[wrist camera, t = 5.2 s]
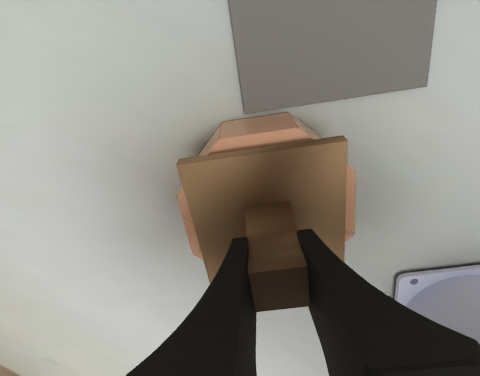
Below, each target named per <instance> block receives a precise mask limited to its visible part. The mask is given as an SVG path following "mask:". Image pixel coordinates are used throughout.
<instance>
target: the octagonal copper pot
mask: <svg viewBox="0 0 480 376" xmlns="http://www.w3.org/2000/svg"><path fill="white" fill-rule="evenodd" d="M315 139H322V138H321V137H320V136H318V135H317V134H316V133H314V132H313V131H312V130H311V129H309V128H308V127H307V126H306V125H304V124H303V123H302V122H300V121H299V120H298V119H297V118H295V117H294V116H293V115H292V114H290V113H288V112H285V113H279V114H272V115H265V116H259V117H252V118H245V119H239V120H232V121H225V122H223V123H221V124H220V126H219V127H218V128H217V130H216V131H215V132H214V134H213V135H212V137H211V138H210V139H209V141H208V142H207V144H206V145H205V146H204V148H203V149H202V151H201V152H200V153H199V155H198V156H205V155H212V154H219V153H225V152H232V151H239V150H246V149H253V148H260V147H267V146H274V145H281V144H287V143H294V142H301V141H308V140H315ZM198 156H197V157H198ZM355 182H356V172H355V171H354V170H353V168H352V167H351V166H350V165H349V164H348V163H347V179H346V214H345V242H346V241H347V240H349V239H350V238H351V237H352V236H353V235H354V232H355ZM177 198H178V202H179V206H180V209H181V213H182V217H183V220H184V224H185V228H186V231H187V235H188V239H189V242H190V246H191V249H192V253H194V255H196V256H197V257H199V258H201V259H203V256H202V253H201V249H200V246H199V242H198V239H197V235H196V232H195V228H194V225H193V221H192V218H191V214H190V211H189V207H188V204H187V200H186V197H185V193H184V190H183V186H182V185H181V187H180V190H179V193H178V195H177Z"/></svg>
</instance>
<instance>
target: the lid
mask: <svg viewBox="0 0 480 376" xmlns="http://www.w3.org/2000/svg"><path fill="white" fill-rule="evenodd" d="M347 145H348V141H347V139H346V138H345V137H344V136H336V137H329V138H322V139H315V140H308V141H301V142H294V143H287V144H281V145H274V146H267V147H260V148H253V149H246V150H239V151H232V152H225V153H219V154H212V155H205V156H198V157H191V158H184V159H179V160H178V163H177V168H178V172H179V175H180V179H181V182H182V186H183V190H184V193H185V197H186V200H187V204H188V207H189V211H190V214H191V218H192V221H193V225H194V228H195V232H196V235H197V239H198V242H199V246H200V249H201V253H202V256H203V260H204V263H205V267H206V270H207V274H208V277H209V281H210V283H211V282H212V280H213V278H214V277H215V275H216V273H217V271H218V269H219V267H220V265H221V264H222V262H223V260H224V257H225V255H226V253H227V251H228V248H229V245H230V243H231V240H232V239H233V238H239V237H246V238H248V246H249V258H248V276H249V281H250V286H251V292H252V297H253V302H254V307H255V312H260V311H269V310H278V309H287V308H297V307H306V306H310V301H309V282H308V266H307V262H306V259H305V257H304V254H303V252H302V249H301V247H300V244H299V240H298V236H297V233H296V232H298V230H303V229H312V230H314V232H315V233H316V234H317V235H318V236H319V237H320V239H321V240H322V241H323V242H324V243H325V244H326V245H327V246H328V247H329V248H330V249H331V250H332V251H333V252H334V253H335V254H336V255H337V256H338V257H339V258H340V259H341V260H342V261H343V262H344V248H345V214H346V179H347Z"/></svg>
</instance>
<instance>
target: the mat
mask: <svg viewBox="0 0 480 376" xmlns="http://www.w3.org/2000/svg"><path fill="white" fill-rule="evenodd" d="M436 5H437V0H229V7H230V14H231V21H232V28H233V35H234V42H235V49H236V56H237V63H238V70H239V77H240V84H241V91H242V99H243V106H244V113H245V114H249V113H255V112H262V111H268V110H275V109H282V108H288V107H295V106H302V105H308V104H315V103H321V102H328V101H335V100H341V99H348V98H355V97H361V96H368V95H374V94H381V93H388V92H394V91H401V90H408V89H414V88H421V87H427V82H428V73H429V65H430V56H431V48H432V39H433V31H434V22H435V14H436Z"/></svg>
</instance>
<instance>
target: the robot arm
mask: <svg viewBox="0 0 480 376" xmlns="http://www.w3.org/2000/svg"><path fill="white" fill-rule="evenodd" d="M296 233H297V236H298V240H299V244H300V247H301V249H302V252H303V254H304V257H305V259H306V262H307V266H308V282H309V301H310V306H308V307H309V310H310V313H311V316H312V319H313V322H314V324H315V327H316V330H317V333H318V336H319V339H320V342H321V345H322V349H323V352H324V356H325V360H326V364H327V368H328V372H329V376H480V265H473V266H464V267H455V268H446V269H437V270H428V271H420V272H411V273H403V274H401V275H399V276H398V277H397V279H396V288H395V298H394V299H392V298H391V297H389V296H387V295H386V294H384V293H383V292H381V291H380V290H378V289H377V288H375V287H374V286H373V285H371V284H370V283H368V282H367V281H366V280H365V279H363V278H362V277H361V276H359V275H358V274H357V273H356V272H355V271H353V270H352V269H351V268H350V267H349V266H348V265H346V264H345V263H344V262H343V261H342V260H341V259H340V258H339V257H338V256H337V255H336V254H335V253H334V252H333V251H332V250H331V249H330V248H329V247H328V246H327V245H326V244H325V243H324V242H323V241H322V240H321V239H320V237H319V236H318V235H317V234H316V233H315V232H314V230H312V229H303V230H298V232H296ZM248 258H249V246H248V238H246V237H239V238H233V239H232V240H231V243H230V245H229V248H228V251H227V253H226V255H225V257H224V260H223V262H222V264H221V265H220V267H219V269H218V271H217V273H216V275H215V277H214V278H213V280H212V282H211V283H210V285H209V287H208V288H207V290H206V292H205V293H204V295H203V296H202V298H201V299H200V300H199V302H198V303H197V305H196V306H195V307H194V309H193V310H192V311H191V312H190V314H189V315H188V316H187V317H186V318H185V320H184V321H183V322H182V323H181V324H180V326H179V327H178V328H177V329H176V330H175V331H174V332H173V333H172V334H171V335H170V336H169V337H168V338H167V339H166V340H165V341H164V342H163V343H162V344H161V345H160V346H159V347H158V348H157V349H156V350H155V351H154V352H153V353H152V354H151V355H149V356H148V357H147V358H146V359H145V360H144V361H142V362H141V363H140V364H139V365H138V366H136V367H135V368H134V369H133V370H132V371H130V372H129V373H128V374H127V375H126V376H257V374H256V312H255V307H254V302H253V297H252V292H251V286H250V281H249V276H248ZM412 279H413V280H412Z"/></svg>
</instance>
